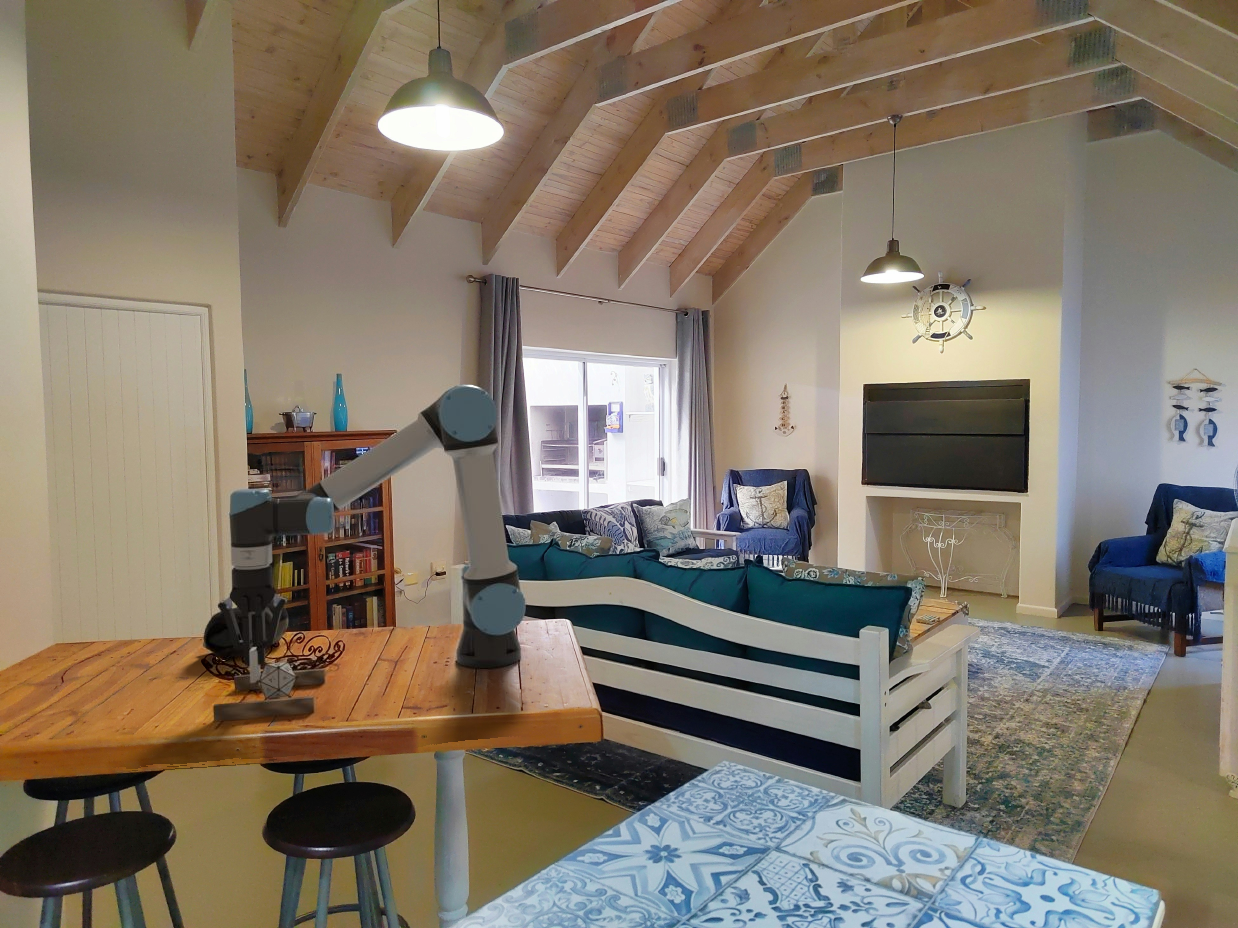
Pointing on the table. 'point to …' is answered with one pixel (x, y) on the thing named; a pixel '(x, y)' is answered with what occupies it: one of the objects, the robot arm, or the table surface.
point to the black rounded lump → (220, 638)
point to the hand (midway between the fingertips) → (255, 680)
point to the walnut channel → (269, 706)
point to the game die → (277, 680)
